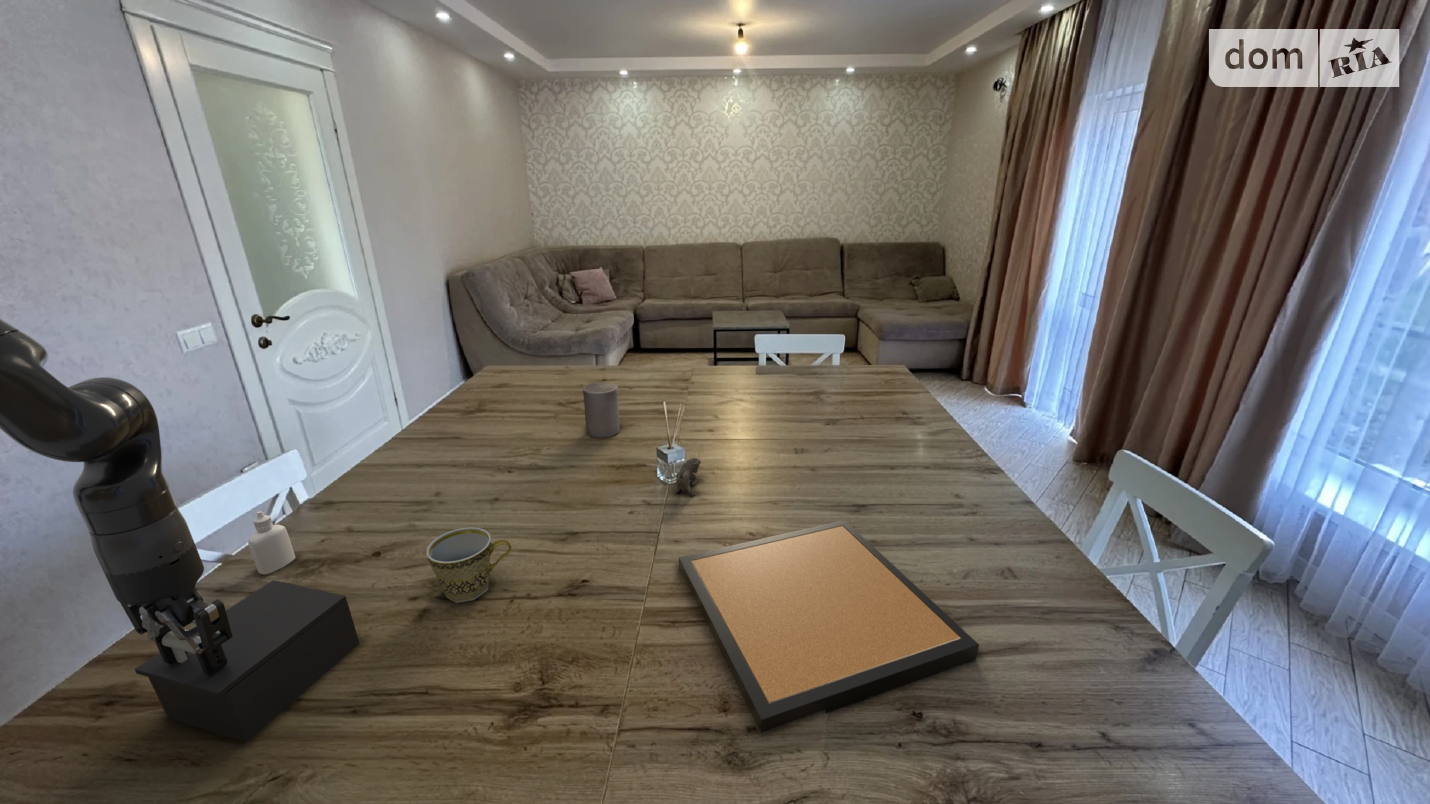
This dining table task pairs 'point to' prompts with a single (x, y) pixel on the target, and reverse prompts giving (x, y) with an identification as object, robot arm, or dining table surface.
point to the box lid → (246, 637)
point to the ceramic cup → (463, 562)
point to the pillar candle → (601, 409)
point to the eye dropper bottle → (270, 545)
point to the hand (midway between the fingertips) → (197, 663)
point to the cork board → (818, 621)
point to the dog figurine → (687, 476)
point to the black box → (265, 682)
